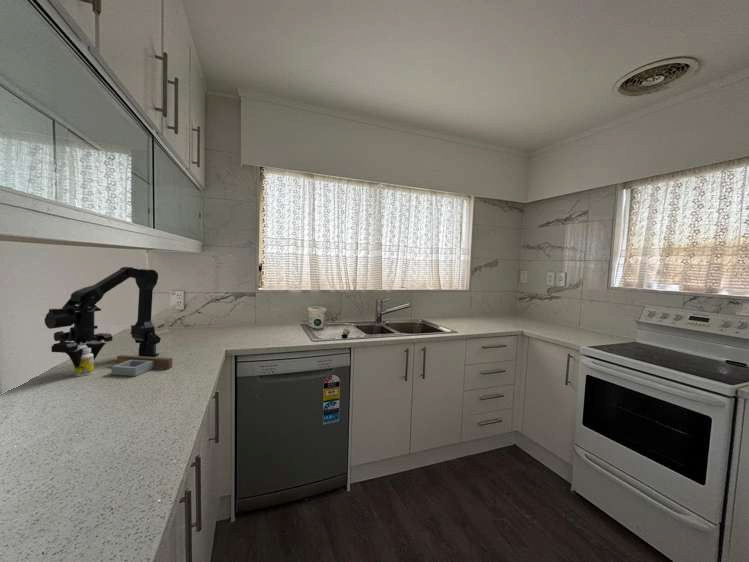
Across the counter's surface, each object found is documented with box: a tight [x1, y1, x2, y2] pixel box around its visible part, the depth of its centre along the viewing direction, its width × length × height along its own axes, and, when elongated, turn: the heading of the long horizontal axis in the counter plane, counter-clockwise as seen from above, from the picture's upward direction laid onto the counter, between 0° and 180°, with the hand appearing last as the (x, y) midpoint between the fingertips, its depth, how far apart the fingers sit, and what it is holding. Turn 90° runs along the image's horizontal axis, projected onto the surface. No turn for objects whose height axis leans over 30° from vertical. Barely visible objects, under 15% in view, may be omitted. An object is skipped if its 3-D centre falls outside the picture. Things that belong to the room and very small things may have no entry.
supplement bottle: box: [73, 347, 95, 377], centre depth 119 cm, size 5×5×10 cm
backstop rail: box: [116, 354, 173, 370], centre depth 129 cm, size 2×22×4 cm, turn 88°
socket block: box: [110, 359, 155, 377], centre depth 124 cm, size 10×10×3 cm
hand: (84, 364), depth 119 cm, fingers closed on supplement bottle, 5 cm apart
